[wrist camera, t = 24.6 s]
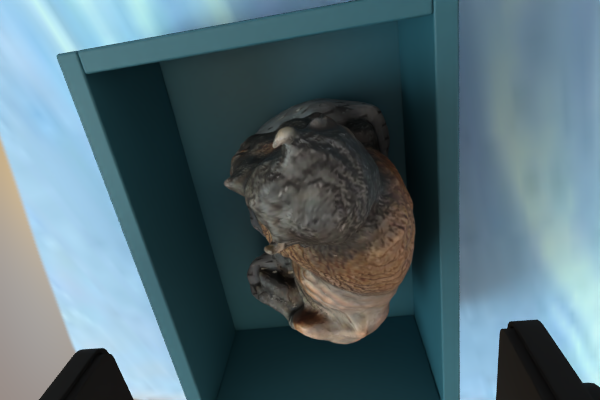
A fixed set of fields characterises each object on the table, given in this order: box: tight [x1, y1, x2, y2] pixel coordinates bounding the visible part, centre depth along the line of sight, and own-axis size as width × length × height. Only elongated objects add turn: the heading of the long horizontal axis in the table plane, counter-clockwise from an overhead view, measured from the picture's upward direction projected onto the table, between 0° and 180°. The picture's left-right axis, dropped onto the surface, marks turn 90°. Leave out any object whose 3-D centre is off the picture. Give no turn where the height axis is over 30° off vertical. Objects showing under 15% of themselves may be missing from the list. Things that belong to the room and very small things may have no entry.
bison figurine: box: [224, 98, 415, 344], centre depth 15 cm, size 12×7×10 cm, turn 6°
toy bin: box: [57, 0, 460, 400], centre depth 18 cm, size 12×17×7 cm
